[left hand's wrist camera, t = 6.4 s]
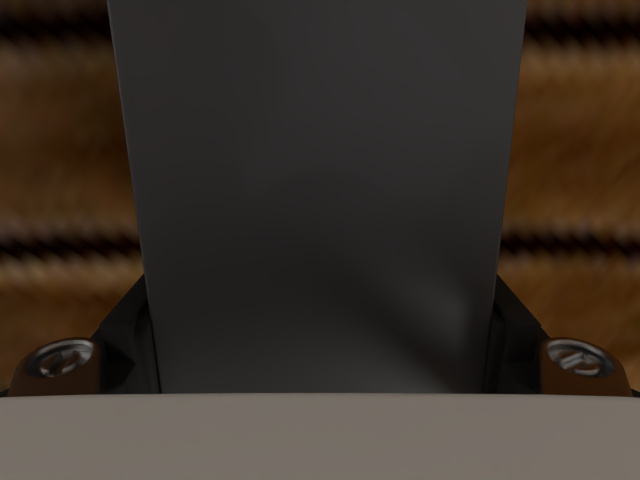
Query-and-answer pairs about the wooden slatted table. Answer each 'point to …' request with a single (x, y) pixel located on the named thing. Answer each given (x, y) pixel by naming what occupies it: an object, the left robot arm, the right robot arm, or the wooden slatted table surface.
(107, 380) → the left robot arm
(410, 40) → the cabinet
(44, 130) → the wooden slatted table surface
